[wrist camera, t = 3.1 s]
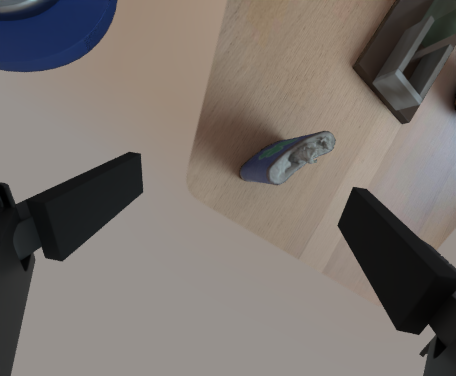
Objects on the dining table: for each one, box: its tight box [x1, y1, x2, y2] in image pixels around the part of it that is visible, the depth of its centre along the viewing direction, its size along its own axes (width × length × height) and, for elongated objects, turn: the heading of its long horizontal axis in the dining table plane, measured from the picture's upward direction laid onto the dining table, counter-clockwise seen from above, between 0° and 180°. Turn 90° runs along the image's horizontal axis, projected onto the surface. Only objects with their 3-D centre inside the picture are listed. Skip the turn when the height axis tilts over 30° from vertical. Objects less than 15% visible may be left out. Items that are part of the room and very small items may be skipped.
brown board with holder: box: [353, 0, 456, 124], centre depth 31 cm, size 14×22×11 cm, turn 145°
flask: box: [240, 131, 336, 185], centre depth 25 cm, size 9×3×11 cm, turn 121°
